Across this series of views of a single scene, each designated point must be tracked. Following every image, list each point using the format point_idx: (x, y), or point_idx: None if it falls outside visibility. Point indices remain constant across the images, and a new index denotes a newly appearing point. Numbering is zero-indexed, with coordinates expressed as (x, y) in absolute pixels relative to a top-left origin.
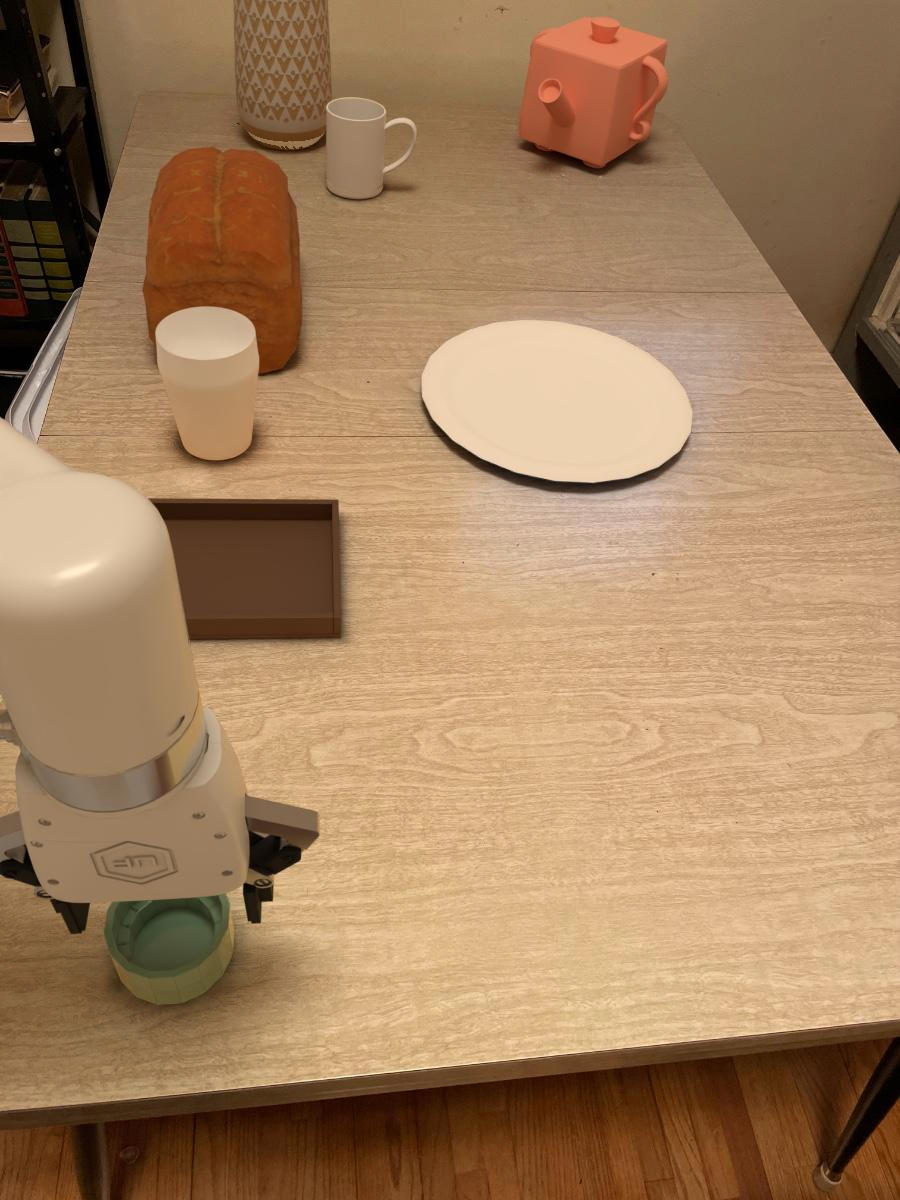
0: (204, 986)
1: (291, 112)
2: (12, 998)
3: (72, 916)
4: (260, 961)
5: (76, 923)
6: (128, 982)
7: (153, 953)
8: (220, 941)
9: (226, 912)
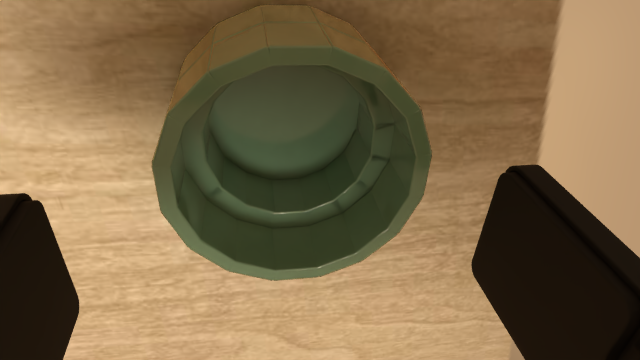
0: (213, 34)
1: None
2: (552, 38)
3: (581, 233)
4: (119, 83)
5: (547, 201)
6: (371, 48)
7: (323, 104)
8: (162, 131)
9: (163, 194)
